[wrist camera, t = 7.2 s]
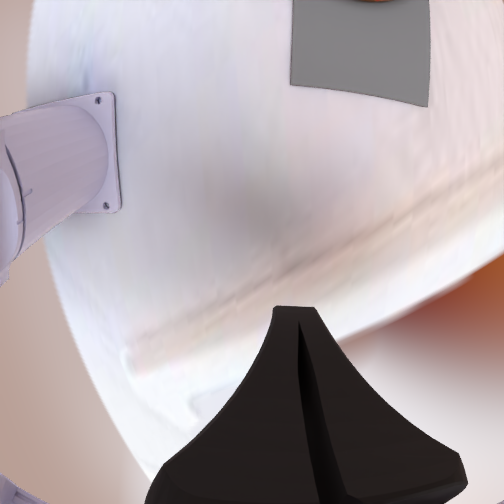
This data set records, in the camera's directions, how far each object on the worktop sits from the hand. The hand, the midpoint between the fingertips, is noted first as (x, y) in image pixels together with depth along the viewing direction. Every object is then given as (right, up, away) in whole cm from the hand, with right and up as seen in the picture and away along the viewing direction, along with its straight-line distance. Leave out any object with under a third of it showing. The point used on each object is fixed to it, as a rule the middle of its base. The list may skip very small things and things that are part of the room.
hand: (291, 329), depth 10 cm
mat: (+5, +20, +1) cm, 20 cm away
